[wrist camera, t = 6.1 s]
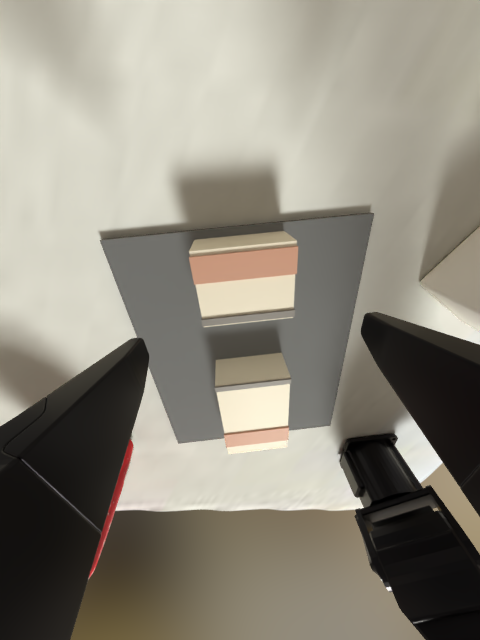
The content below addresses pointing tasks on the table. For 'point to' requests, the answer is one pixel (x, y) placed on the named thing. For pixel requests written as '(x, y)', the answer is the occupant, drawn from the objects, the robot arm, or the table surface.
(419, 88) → the table surface
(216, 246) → the stub
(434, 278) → the medicine bottle
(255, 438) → the ticket
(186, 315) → the mat
